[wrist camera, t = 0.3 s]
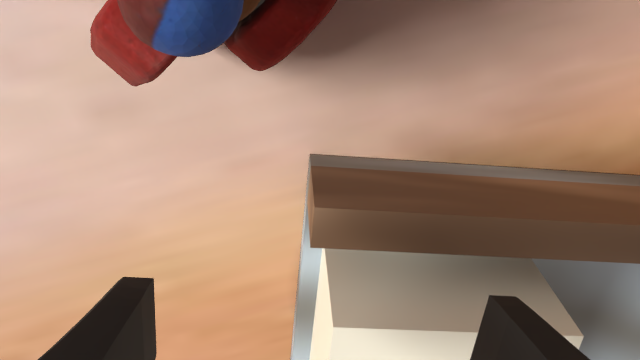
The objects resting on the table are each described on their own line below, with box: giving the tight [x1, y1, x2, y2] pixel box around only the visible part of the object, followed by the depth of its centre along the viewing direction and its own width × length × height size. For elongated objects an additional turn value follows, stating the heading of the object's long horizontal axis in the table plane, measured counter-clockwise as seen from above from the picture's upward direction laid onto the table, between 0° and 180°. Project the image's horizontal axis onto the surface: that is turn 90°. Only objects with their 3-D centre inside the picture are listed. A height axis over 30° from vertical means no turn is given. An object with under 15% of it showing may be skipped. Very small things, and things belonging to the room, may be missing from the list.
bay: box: [290, 154, 640, 360], centre depth 23 cm, size 14×24×4 cm, turn 85°
